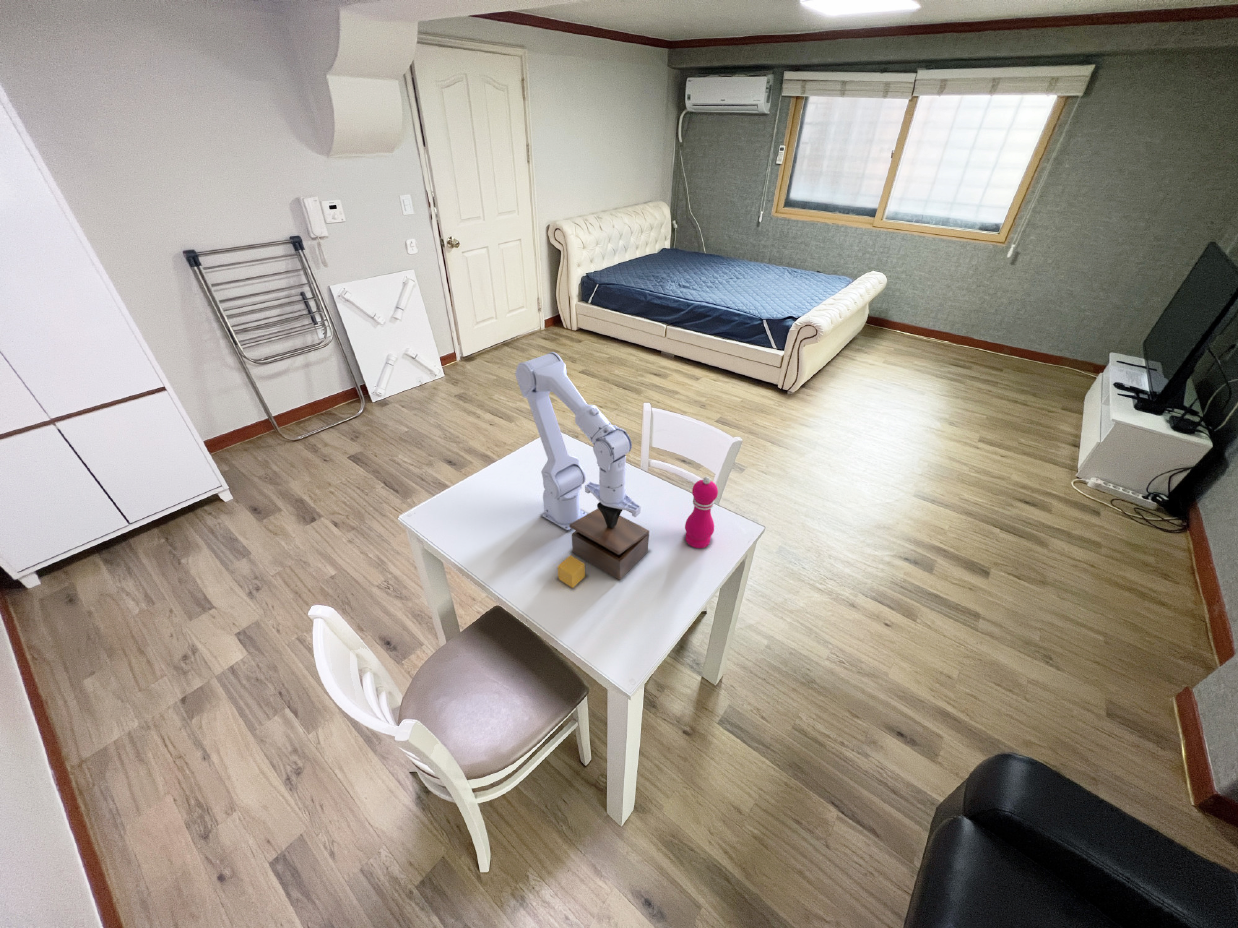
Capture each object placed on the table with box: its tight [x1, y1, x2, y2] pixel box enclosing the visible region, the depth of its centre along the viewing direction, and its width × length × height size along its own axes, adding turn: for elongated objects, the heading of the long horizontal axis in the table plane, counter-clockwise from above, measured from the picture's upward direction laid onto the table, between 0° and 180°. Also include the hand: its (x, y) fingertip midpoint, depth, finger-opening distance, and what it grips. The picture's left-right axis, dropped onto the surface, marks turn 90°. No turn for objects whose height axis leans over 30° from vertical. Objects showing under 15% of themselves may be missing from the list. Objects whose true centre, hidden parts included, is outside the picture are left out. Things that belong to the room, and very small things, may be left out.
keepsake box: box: [571, 530, 650, 581], centre depth 119 cm, size 12×15×6 cm
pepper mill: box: [684, 476, 719, 549], centre depth 119 cm, size 7×7×20 cm
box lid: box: [569, 508, 650, 555], centre depth 116 cm, size 12×15×1 cm
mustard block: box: [557, 554, 586, 589], centre depth 112 cm, size 4×4×4 cm
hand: (611, 525), depth 116 cm, fingers closed
